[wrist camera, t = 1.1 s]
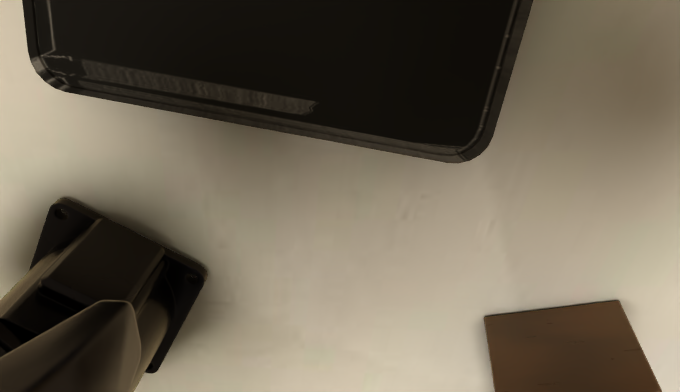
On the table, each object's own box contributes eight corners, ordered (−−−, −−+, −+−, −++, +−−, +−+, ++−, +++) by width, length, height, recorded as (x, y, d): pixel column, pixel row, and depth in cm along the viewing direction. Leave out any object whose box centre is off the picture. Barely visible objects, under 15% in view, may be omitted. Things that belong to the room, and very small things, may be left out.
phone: (0, -194, 16) (563, -99, 15) (25, -190, 17) (554, -101, 16) (31, 88, 19) (482, 172, 19) (50, 79, 20) (479, 158, 20)
